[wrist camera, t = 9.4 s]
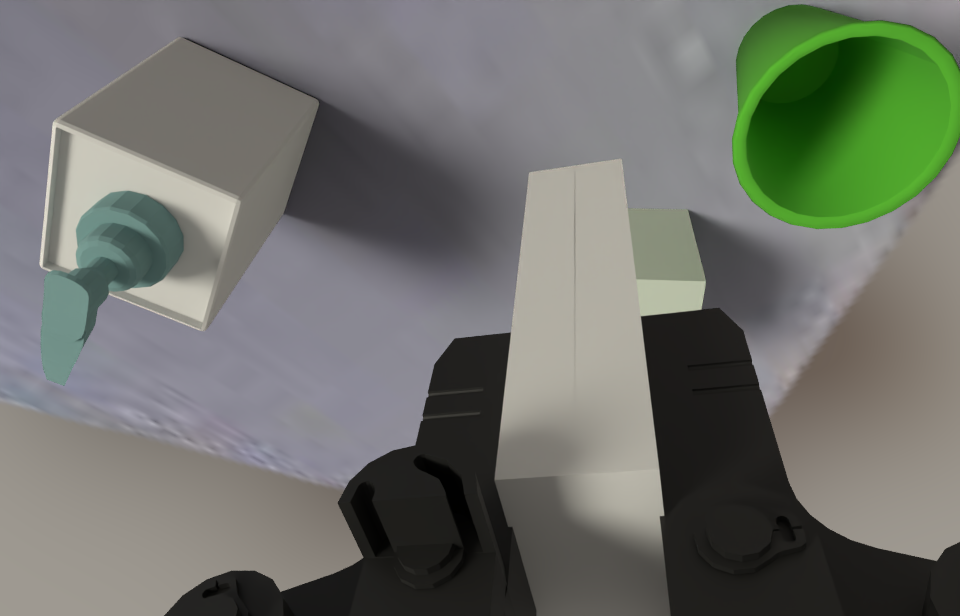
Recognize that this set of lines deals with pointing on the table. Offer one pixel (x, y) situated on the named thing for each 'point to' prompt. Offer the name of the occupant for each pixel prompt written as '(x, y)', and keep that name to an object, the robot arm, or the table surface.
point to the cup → (841, 115)
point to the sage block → (666, 261)
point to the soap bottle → (164, 192)
